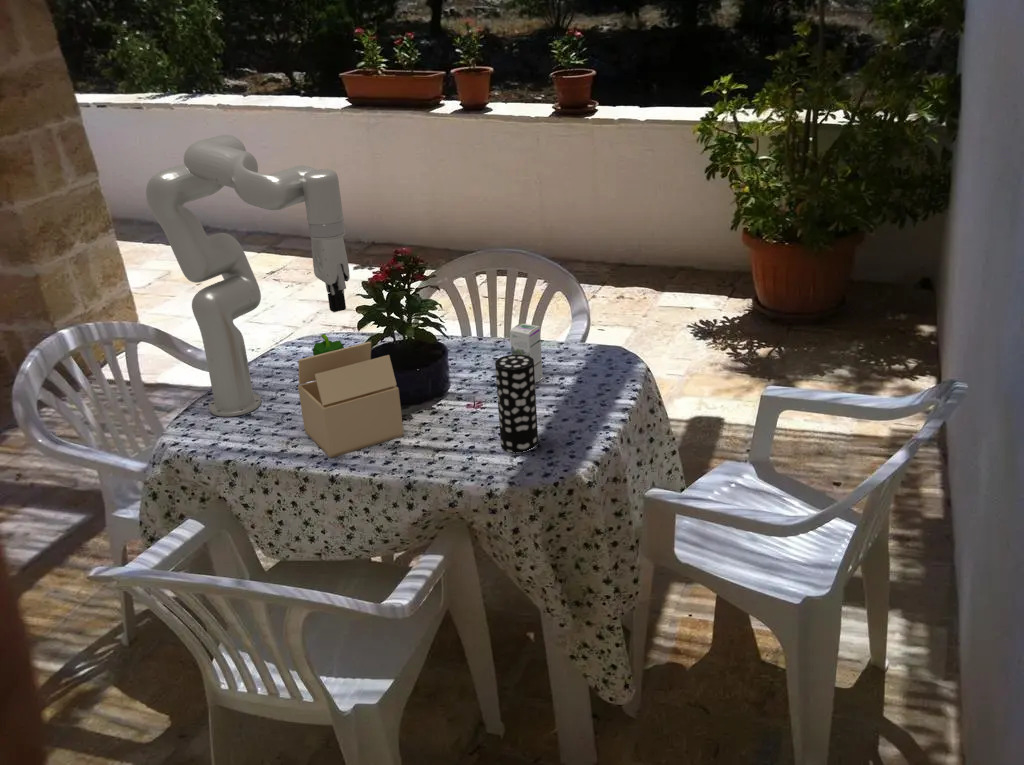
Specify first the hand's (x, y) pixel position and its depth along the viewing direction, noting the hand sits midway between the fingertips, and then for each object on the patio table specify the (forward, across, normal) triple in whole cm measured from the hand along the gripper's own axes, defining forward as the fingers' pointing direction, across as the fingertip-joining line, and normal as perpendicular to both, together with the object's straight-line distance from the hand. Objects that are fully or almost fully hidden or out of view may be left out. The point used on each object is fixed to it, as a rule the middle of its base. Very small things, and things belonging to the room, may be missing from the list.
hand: (338, 310), depth 230 cm
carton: (+30, 0, 0) cm, 31 cm away
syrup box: (+31, -1, +48) cm, 57 cm away
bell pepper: (+31, -39, +10) cm, 51 cm away
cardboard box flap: (+15, +6, 0) cm, 16 cm away
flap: (+15, -6, 0) cm, 16 cm away
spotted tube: (+31, +28, +28) cm, 50 cm away
